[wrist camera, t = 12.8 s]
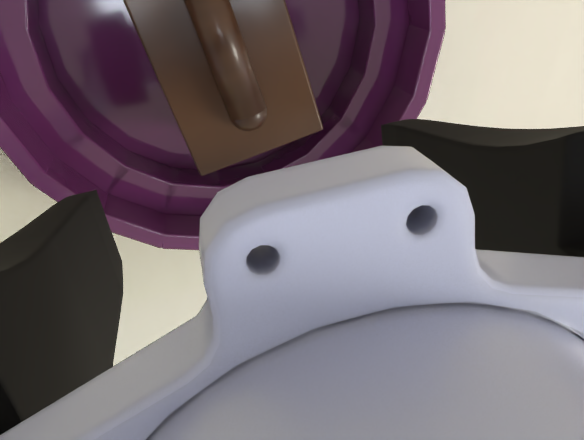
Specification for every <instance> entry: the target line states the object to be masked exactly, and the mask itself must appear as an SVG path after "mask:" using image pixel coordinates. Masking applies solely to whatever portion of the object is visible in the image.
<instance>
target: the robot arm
mask: <svg viewBox="0 0 584 440" xmlns="http://www.w3.org/2000/svg"><path fill="white" fill-rule="evenodd" d="M381 131H382V143H383V146H378V147H374V148H369V149H365V150H361V151H356V152H352V153H348V154H343V155H339V156H335V157H331V158H326V159H322V160H318V161H313V162H309V163H305V164H300V165H296V166H292V167H288V168H283V169H279V170H275V171H270V172H266V173H262V174H257V175H253V176H249V177H246V178H244V179H242V180H240V181H238V182H236V183H234V184H232V185H230V186H229V187H227V188H225V189H223V190H221V191H219V192H217V194H216V195H215V197H214V198H213V200H212V201H211V203H210V204H209V206H208V207H207V209H206V210H205V212H204V213H203V214H202V216H201V217H200V231H199V251H200V259H201V266H202V273H203V281H204V286H205V289H206V293H207V300H206V302H205V304H204V305H203V307H202V309H201V310H200V312H199V313H198V315H197V316H195V317H194V318H192V319H190V320H189V321H187V322H186V323H184V324H182V325H181V326H179V327H177V328H176V329H174V330H172V331H171V332H169V333H167V334H166V335H164V336H163V337H161V338H159V339H158V340H156V341H154V342H153V343H151V344H149V345H148V346H146V347H144V348H143V349H141V350H139V351H138V352H136V353H135V354H133V355H131V356H130V357H128V358H126V359H125V360H123V361H121V362H120V363H118V364H116V365H115V366H113V359H114V352H115V346H116V339H117V332H118V326H119V319H120V312H121V305H122V297H123V271H122V260H121V257H120V255H119V252H118V249H117V246H116V243H115V241H114V238H113V235H112V232H111V229H110V227H109V224H108V221H107V218H106V215H105V213H104V210H103V207H102V204H101V201H100V199H99V196H98V193H97V190H93V191H89V192H84V193H80V194H76V195H71V196H68V197H66V198H64V199H62V200H61V201H59V202H58V203H56V204H55V205H53V206H52V207H51V208H49V209H48V210H46V211H45V212H44V213H42V214H41V215H40V216H38V217H37V218H36V219H34V220H33V221H32V222H30V223H29V224H28V225H26V226H25V227H23V228H22V229H21V230H19V231H18V232H16V233H15V234H13V235H12V236H10V237H9V238H7V239H6V240H4V241H3V242H2V243H0V440H584V126H581V127H568V128H555V129H502V128H489V127H478V126H469V125H461V124H454V123H446V122H439V121H431V120H421V119H406V120H401V121H396V122H392V123H387V124H383V125H381Z"/></svg>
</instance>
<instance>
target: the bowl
mask: <svg viewBox="0 0 584 440" xmlns="http://www.w3.org/2000/svg"><path fill="white" fill-rule="evenodd" d="M285 2H286V5H287V9H288V12H289V15H290V18H291V22H292V25H293V28H294V32H295V35H296V38H297V42H298V45H299V48H300V52H301V55H302V58H303V61H304V65H305V68H306V71H307V75H308V78H309V81H310V85H311V88H312V91H313V94H314V98H315V101H316V104H317V108H318V111H319V114H320V118H321V121H322V124H323V129H322V130H321V131H318V132H316V133H313V134H310V135H308V136H305V137H303V138H300V139H297V140H295V141H292V142H290V143H287V144H285V145H282V146H279V147H277V148H274V149H272V150H269V151H266V152H264V153H261V154H259V155H256V156H253V157H251V158H248V159H246V160H243V161H240V162H238V163H235V164H233V165H230V166H227V167H225V168H222V169H220V170H217V171H214V172H212V173H209V174H207V175H204V176H201V175H200V174H199V172H198V170H197V167H196V165H195V163H194V161H193V158H192V156H191V154H190V152H189V149H188V147H187V145H186V142H185V140H184V138H183V136H182V133H181V131H180V129H179V127H178V124H177V122H176V120H175V118H174V115H173V113H172V111H171V108H170V106H169V104H168V102H167V99H166V97H165V95H164V93H163V90H162V88H161V86H160V83H159V81H158V79H157V77H156V74H155V72H154V70H153V68H152V65H151V63H150V61H149V59H148V56H147V54H146V52H145V49H144V47H143V45H142V43H141V40H140V38H139V36H138V34H137V31H136V29H135V27H134V25H133V22H132V20H131V18H130V15H129V13H128V11H127V9H126V6H125V4H124V2H123V0H0V147H1V149H2V150H3V151H4V152H5V153H6V155H7V156H8V157H9V158H10V159H11V161H12V162H13V163H14V164H15V165H16V167H17V168H18V169H19V170H20V171H21V173H22V174H23V175H24V176H25V177H26V178H27V180H28V181H29V182H30V183H31V184H33V186H35V187H36V188H38V189H39V190H41V191H42V192H43V193H45V194H46V195H48V196H49V197H51V198H52V199H54V200H55V201H57V202H59V201H61V200H62V199H64V198H66V197H68V196H71V195H76V194H80V193H84V192H89V191H93V190H97V193H98V196H99V199H100V201H101V204H102V207H103V210H104V213H105V215H106V218H107V221H108V224H109V227H110V229H111V232H112V233H115V234H118V235H121V236H124V237H127V238H131V239H134V240H137V241H140V242H143V243H146V244H149V245H152V246H155V247H158V248H161V247H162V248H163V249H183V250H199V231H200V217H201V216H202V214H203V213H204V212H205V210H206V209H207V207H208V206H209V204H210V203H211V201H212V200H213V198H214V197H215V195H216V194H217V192H219V191H221V190H223V189H225V188H227V187H229V186H230V185H232V184H234V183H236V182H238V181H240V180H242V179H244V178H246V177H249V176H253V175H257V174H262V173H266V172H270V171H275V170H279V169H283V168H288V167H292V166H296V165H300V164H305V163H309V162H313V161H318V160H322V159H326V158H331V157H335V156H339V155H343V154H348V153H352V152H356V151H361V150H365V149H369V148H374V147H378V146H383V143H382V131H381V125H383V124H387V123H392V122H396V121H401V120H406V119H417V117H418V116H419V114H420V112H421V111H422V109H423V107H424V105H425V104H426V100H427V99H428V96H429V92H430V88H431V84H432V80H433V77H434V73H435V69H436V65H437V61H438V58H439V54H440V50H441V46H442V42H443V39H444V35H445V28H446V20H445V0H285Z"/></svg>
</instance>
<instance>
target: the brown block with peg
mask: <svg viewBox="0 0 584 440" xmlns="http://www.w3.org/2000/svg"><path fill="white" fill-rule="evenodd" d="M123 2H124V4H125V6H126V9H127V11H128V13H129V15H130V18H131V20H132V22H133V25H134V27H135V29H136V31H137V34H138V36H139V38H140V40H141V43H142V45H143V47H144V49H145V52H146V54H147V56H148V59H149V61H150V63H151V65H152V68H153V70H154V72H155V74H156V77H157V79H158V81H159V83H160V86H161V88H162V90H163V93H164V95H165V97H166V99H167V102H168V104H169V106H170V108H171V111H172V113H173V115H174V118H175V120H176V122H177V124H178V127H179V129H180V131H181V133H182V136H183V138H184V140H185V142H186V145H187V147H188V149H189V152H190V154H191V156H192V158H193V161H194V163H195V165H196V167H197V170H198V172H199V174H200V175H201V176H204V175H207V174H209V173H212V172H214V171H217V170H220V169H222V168H225V167H227V166H230V165H233V164H235V163H238V162H240V161H243V160H246V159H248V158H251V157H253V156H256V155H259V154H261V153H264V152H266V151H269V150H272V149H274V148H277V147H279V146H282V145H285V144H287V143H290V142H292V141H295V140H297V139H300V138H303V137H305V136H308V135H310V134H313V133H316V132H318V131H321V130H322V129H323V124H322V121H321V118H320V114H319V111H318V108H317V104H316V101H315V98H314V94H313V91H312V88H311V85H310V81H309V78H308V75H307V71H306V68H305V65H304V61H303V58H302V55H301V52H300V48H299V45H298V42H297V38H296V35H295V32H294V28H293V25H292V22H291V18H290V15H289V12H288V9H287V5H286V2H285V0H123Z"/></svg>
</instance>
